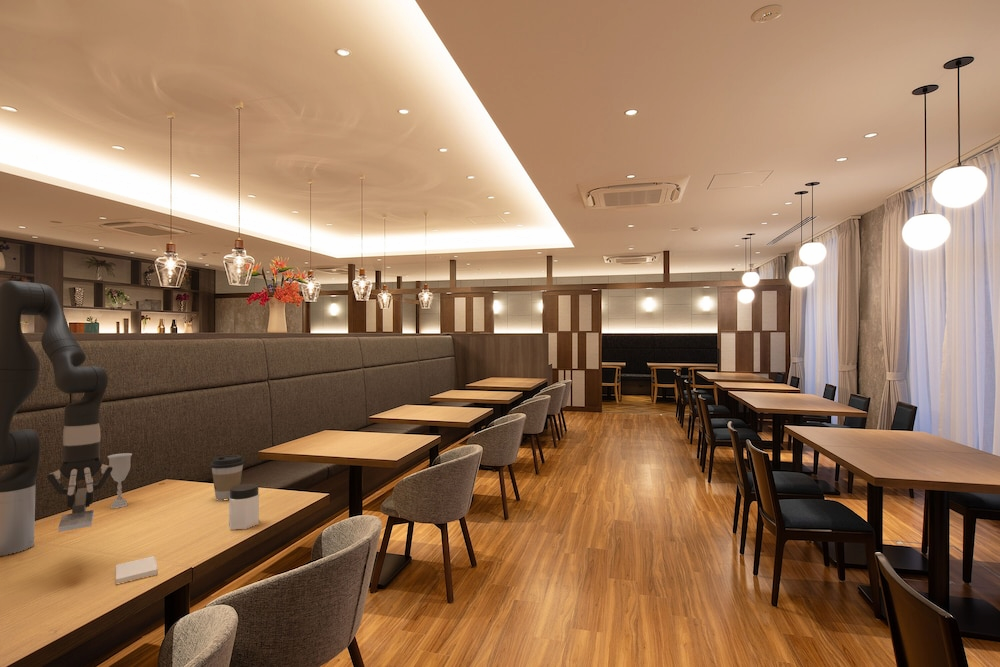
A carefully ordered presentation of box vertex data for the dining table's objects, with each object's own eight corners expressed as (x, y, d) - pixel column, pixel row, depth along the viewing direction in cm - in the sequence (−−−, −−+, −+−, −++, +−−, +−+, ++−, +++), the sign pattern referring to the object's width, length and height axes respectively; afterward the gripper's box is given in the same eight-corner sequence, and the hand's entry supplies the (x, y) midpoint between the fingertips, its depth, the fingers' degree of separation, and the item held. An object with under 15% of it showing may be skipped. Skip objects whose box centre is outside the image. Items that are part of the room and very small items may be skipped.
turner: (91, 526, 117) (91, 514, 117) (58, 532, 113) (58, 519, 113) (97, 496, 134) (97, 486, 134) (68, 500, 130) (68, 490, 130)
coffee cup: (210, 496, 181) (211, 456, 181) (244, 491, 186) (245, 453, 186) (208, 504, 171) (208, 462, 171) (244, 499, 176) (244, 459, 176)
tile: (115, 572, 121) (116, 587, 113) (115, 564, 121) (116, 579, 113) (154, 562, 126) (157, 576, 118) (154, 555, 126) (157, 569, 118)
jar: (263, 519, 155) (264, 482, 156) (253, 529, 147) (253, 490, 147) (235, 521, 154) (235, 483, 155) (222, 530, 146) (223, 491, 147)
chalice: (101, 508, 168) (102, 456, 168) (121, 502, 174) (122, 452, 175) (116, 509, 166) (117, 458, 166) (136, 503, 172) (137, 453, 173)
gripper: (43, 447, 119) (42, 517, 119) (114, 440, 128) (113, 505, 127) (47, 442, 125) (46, 509, 124) (115, 436, 133) (114, 498, 133)
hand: (80, 506), depth 126 cm, fingers closed on turner, 2 cm apart
